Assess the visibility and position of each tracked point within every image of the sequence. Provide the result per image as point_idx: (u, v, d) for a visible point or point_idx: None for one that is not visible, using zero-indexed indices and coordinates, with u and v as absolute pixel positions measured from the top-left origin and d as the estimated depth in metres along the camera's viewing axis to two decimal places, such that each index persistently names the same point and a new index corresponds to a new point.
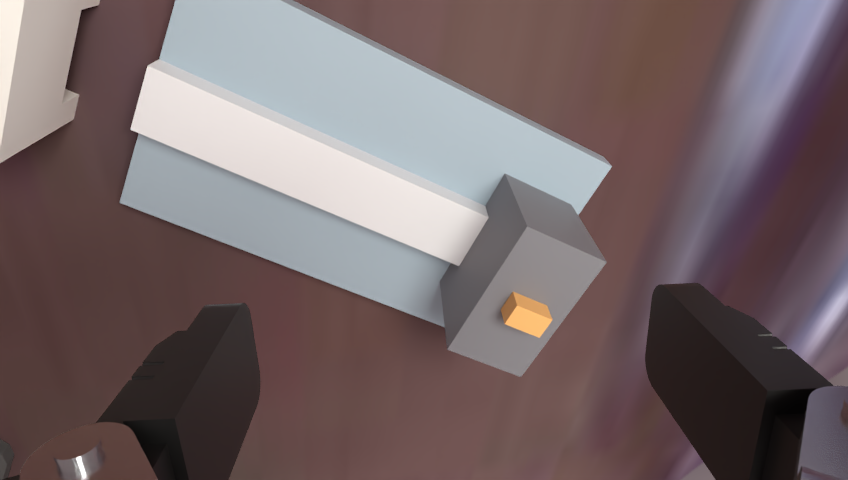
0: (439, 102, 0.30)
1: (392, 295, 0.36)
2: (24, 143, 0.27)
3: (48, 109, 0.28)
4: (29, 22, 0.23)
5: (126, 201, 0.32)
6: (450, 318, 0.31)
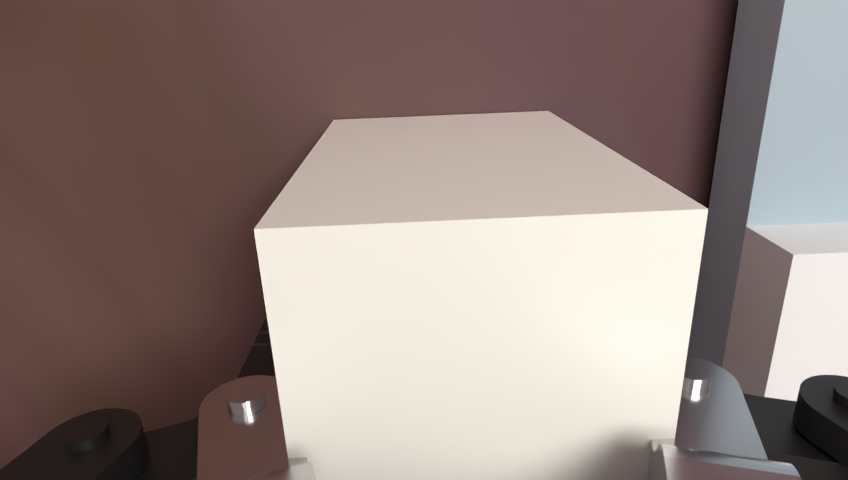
0: None
1: None
2: None
3: None
4: None
5: None
6: None
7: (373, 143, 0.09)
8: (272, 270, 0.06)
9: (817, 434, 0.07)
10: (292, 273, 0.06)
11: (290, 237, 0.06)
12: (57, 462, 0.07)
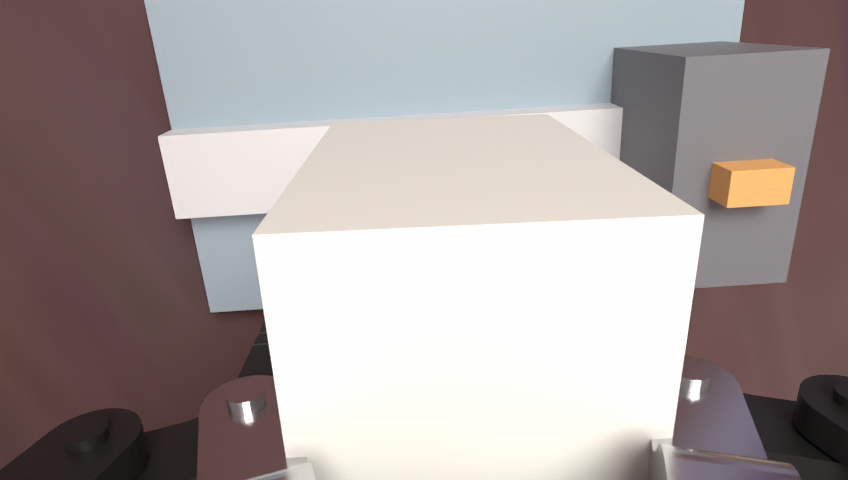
0: (489, 3, 0.23)
1: None
2: None
3: None
4: None
5: (216, 307, 0.27)
6: None
7: (372, 147, 0.09)
8: (270, 275, 0.06)
9: (817, 434, 0.07)
10: (290, 278, 0.06)
11: (288, 243, 0.06)
12: (57, 462, 0.07)
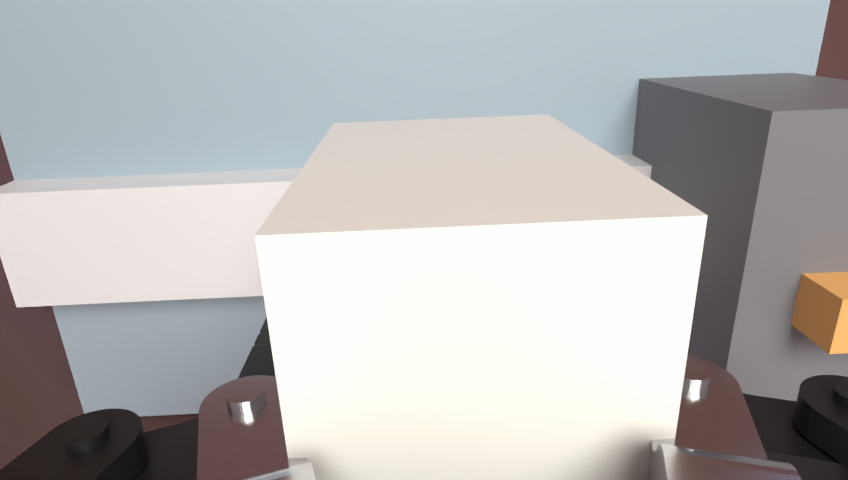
0: (464, 12, 0.16)
1: None
2: None
3: None
4: None
5: None
6: None
7: (373, 147, 0.09)
8: (273, 276, 0.06)
9: (817, 434, 0.07)
10: (293, 279, 0.06)
11: (291, 243, 0.06)
12: (57, 462, 0.07)
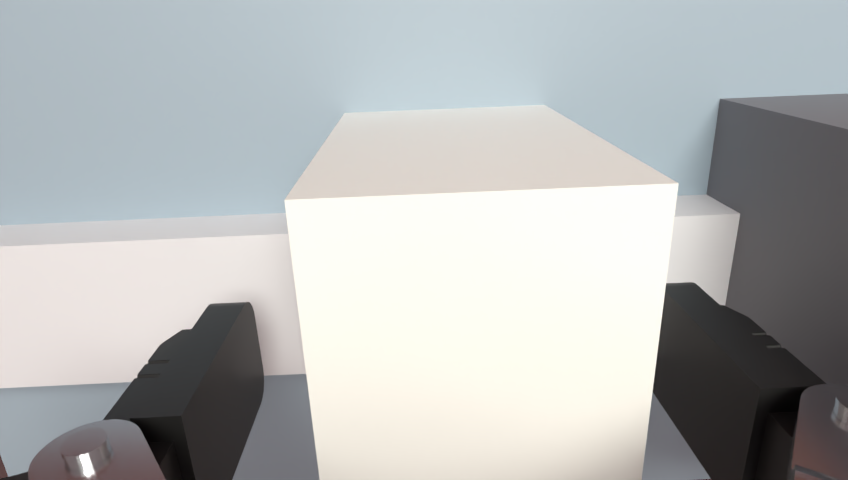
0: (494, 13, 0.12)
1: None
2: None
3: None
4: None
5: None
6: None
7: (383, 132, 0.10)
8: (299, 236, 0.07)
9: None
10: (317, 239, 0.07)
11: (315, 207, 0.07)
12: None
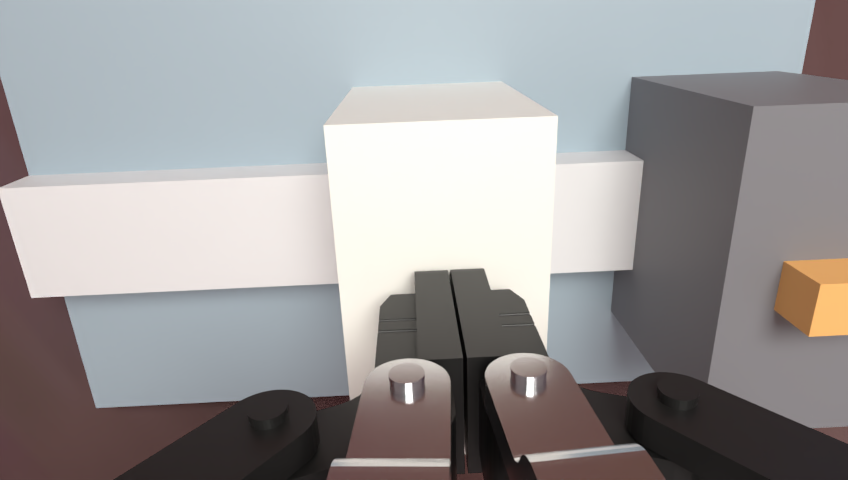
0: (462, 13, 0.17)
1: None
2: None
3: None
4: None
5: (103, 402, 0.21)
6: (669, 368, 0.16)
7: (381, 96, 0.15)
8: (332, 148, 0.11)
9: (652, 439, 0.07)
10: (342, 150, 0.11)
11: (341, 130, 0.11)
12: (239, 434, 0.07)
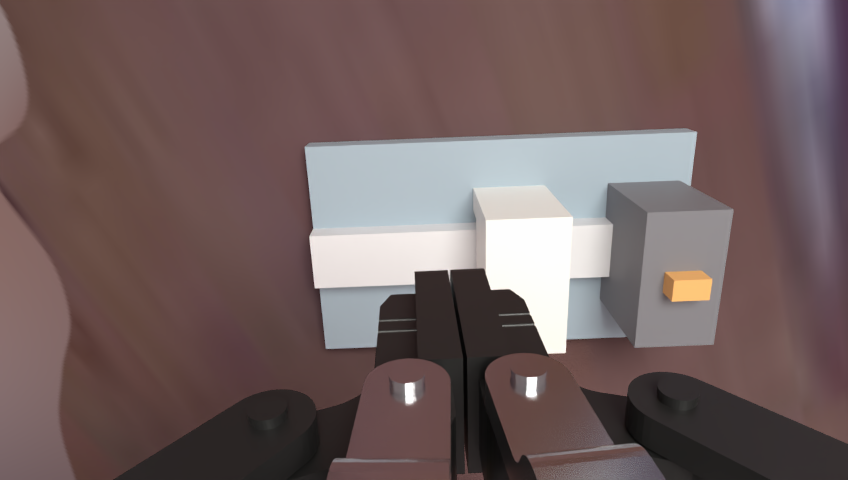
0: (527, 155, 0.35)
1: None
2: None
3: None
4: None
5: (330, 345, 0.40)
6: (624, 321, 0.34)
7: (494, 198, 0.34)
8: (488, 228, 0.30)
9: (652, 439, 0.07)
10: (492, 228, 0.30)
11: (492, 221, 0.30)
12: (239, 434, 0.07)
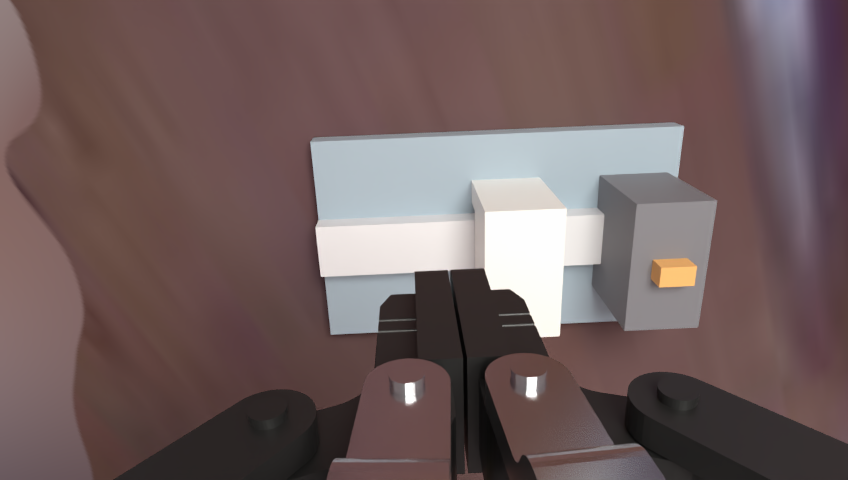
0: (522, 148, 0.37)
1: None
2: None
3: None
4: None
5: (335, 331, 0.41)
6: (614, 306, 0.36)
7: (492, 190, 0.35)
8: (487, 219, 0.32)
9: (652, 439, 0.07)
10: (490, 220, 0.32)
11: (491, 213, 0.31)
12: (239, 434, 0.07)
